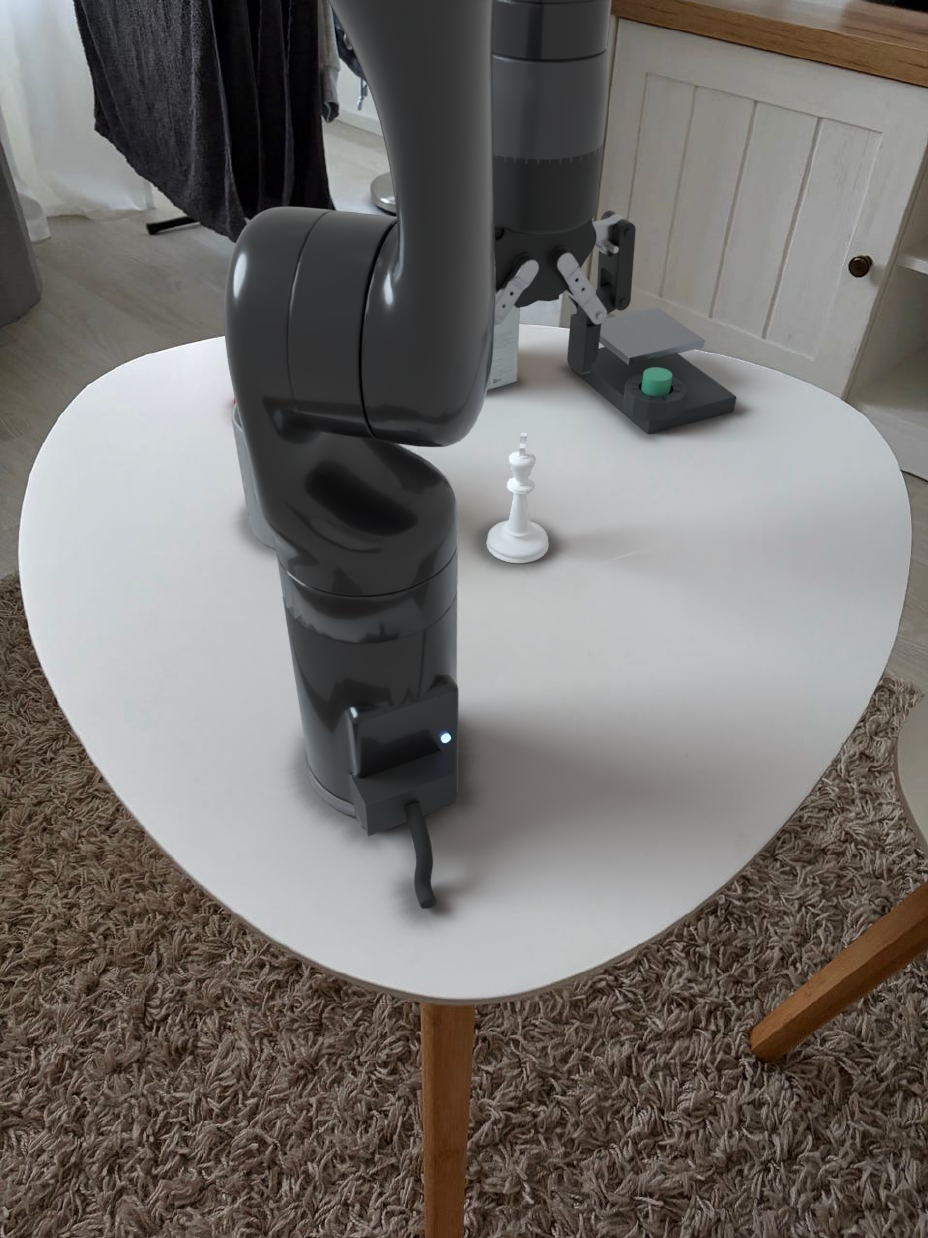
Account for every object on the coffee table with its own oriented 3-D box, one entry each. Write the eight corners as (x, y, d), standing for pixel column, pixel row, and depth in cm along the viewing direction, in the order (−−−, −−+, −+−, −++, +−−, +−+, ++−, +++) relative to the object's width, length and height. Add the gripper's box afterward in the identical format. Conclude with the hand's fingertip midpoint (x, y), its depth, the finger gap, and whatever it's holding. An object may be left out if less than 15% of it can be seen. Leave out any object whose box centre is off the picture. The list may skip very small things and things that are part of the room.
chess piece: (549, 527, 80) (558, 419, 73) (547, 565, 76) (556, 454, 69) (489, 523, 80) (492, 415, 73) (483, 561, 76) (486, 450, 70)
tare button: (675, 394, 90) (678, 377, 89) (651, 400, 89) (654, 383, 88) (659, 382, 92) (661, 364, 90) (635, 387, 91) (638, 370, 90)
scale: (738, 416, 93) (746, 382, 91) (642, 441, 90) (647, 407, 87) (651, 350, 103) (656, 318, 101) (561, 371, 100) (564, 338, 97)
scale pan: (703, 347, 95) (705, 339, 94) (628, 365, 92) (629, 357, 91) (656, 314, 100) (657, 306, 99) (584, 330, 97) (584, 322, 97)
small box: (518, 383, 98) (524, 252, 89) (462, 398, 95) (463, 265, 87) (477, 349, 103) (479, 223, 94) (423, 363, 101) (420, 235, 92)
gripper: (457, 169, 53) (457, 430, 64) (677, 135, 58) (641, 384, 69) (402, 130, 58) (411, 379, 69) (609, 101, 63) (586, 338, 74)
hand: (526, 381), depth 69 cm, fingers open, 8 cm apart
